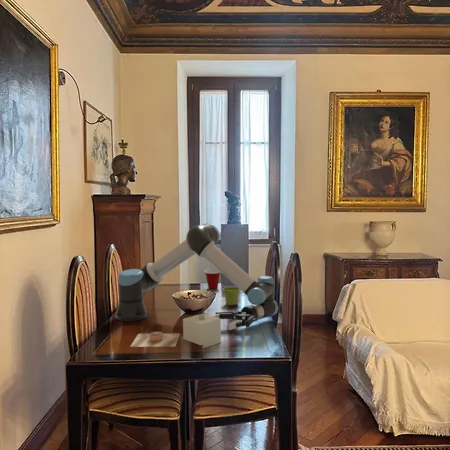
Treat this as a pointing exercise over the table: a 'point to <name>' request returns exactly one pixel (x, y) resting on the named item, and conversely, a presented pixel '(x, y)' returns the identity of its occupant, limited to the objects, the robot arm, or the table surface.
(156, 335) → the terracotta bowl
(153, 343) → the maple board
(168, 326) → the table surface
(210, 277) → the plastic cup
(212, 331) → the white cube
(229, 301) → the plant pot
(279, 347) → the table surface
